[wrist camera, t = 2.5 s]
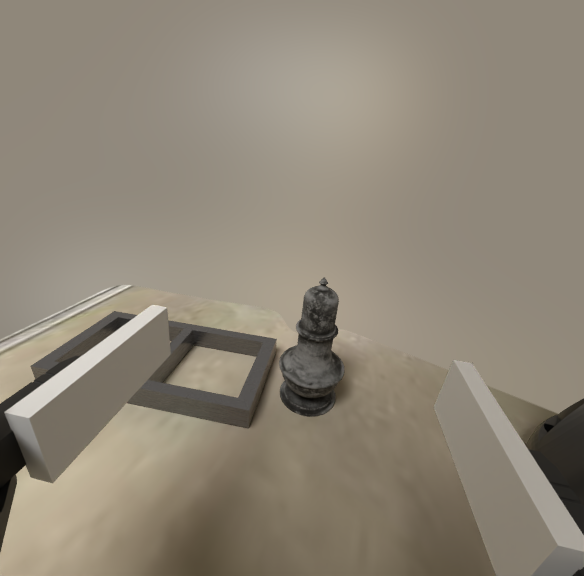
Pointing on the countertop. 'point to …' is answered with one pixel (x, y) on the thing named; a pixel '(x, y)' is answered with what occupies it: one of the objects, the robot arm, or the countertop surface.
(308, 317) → the dark grey chess piece
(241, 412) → the grey flat rectangular frame
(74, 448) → the robot arm
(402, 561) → the countertop surface
